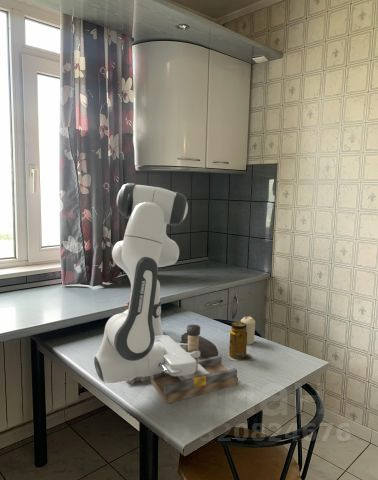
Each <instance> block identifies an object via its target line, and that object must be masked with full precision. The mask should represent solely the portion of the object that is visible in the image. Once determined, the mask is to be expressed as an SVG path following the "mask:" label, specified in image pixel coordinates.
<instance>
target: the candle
mask: <svg viewBox="0 0 378 480" xmlns="http://www.w3.org/2000/svg"><path fill="white" fill-rule="evenodd" d="M240 322H243V323H245V324H246V326H247V327H246V329H247V330H246V331H247V345H252V344H254V343H255V331H256V320H255V319H254V318H253V317H252V316H250V315H249V316H246V315H245V316H243V317H242V318H241V319H240Z"/></svg>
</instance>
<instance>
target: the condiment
mask: <svg viewBox="0 0 378 480" xmlns="http://www.w3.org/2000/svg"><path fill="white" fill-rule="evenodd" d="M246 327H247V326H246V324H245V323H243V322H241V321H234V322H232V323H231V327H230V328H231V329H230V331H229V347H228V349H229V350H226V353H227V356H228V359H229V360H230V361H233V362H234V361H237V362H239V361H253V360H254V361H255V358H254V357H253V355H252V353H251V352H250V351H249V350H247V331H246V330H247V329H246Z"/></svg>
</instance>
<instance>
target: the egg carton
mask: <svg viewBox="0 0 378 480" xmlns="http://www.w3.org/2000/svg"><path fill="white" fill-rule="evenodd" d="M148 377H149V376H146V377H136V378H134V379H132V380H128V381H125V382H126V383H129V384H134V383H135V382H137V381H140V382H145V381H146V380H148ZM145 379H146V380H145Z"/></svg>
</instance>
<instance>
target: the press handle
mask: <svg viewBox="0 0 378 480" xmlns="http://www.w3.org/2000/svg"><path fill="white" fill-rule="evenodd" d="M186 333H187V335H188V352H190V353H191V352H193V350H196V349H198V342H199V336H201V326H200V325H199V324H188V325H186ZM188 352H187V353H188ZM194 359H195V360H196V362H197V369H196V372H195V373H194V374H191V375H185V376H177V377H178V378H179V379H180V380H181V381H183V380H187V379H191V378H196V377H200V376H204V375H208V374H209V373H208V372H207V371H206V370H205V369H204V368H203V367H202V366H201V365H200V364H199V363H198V360H199V357H196V358H194Z"/></svg>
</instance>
